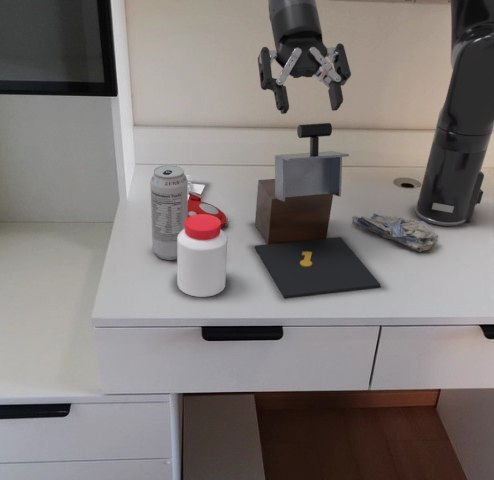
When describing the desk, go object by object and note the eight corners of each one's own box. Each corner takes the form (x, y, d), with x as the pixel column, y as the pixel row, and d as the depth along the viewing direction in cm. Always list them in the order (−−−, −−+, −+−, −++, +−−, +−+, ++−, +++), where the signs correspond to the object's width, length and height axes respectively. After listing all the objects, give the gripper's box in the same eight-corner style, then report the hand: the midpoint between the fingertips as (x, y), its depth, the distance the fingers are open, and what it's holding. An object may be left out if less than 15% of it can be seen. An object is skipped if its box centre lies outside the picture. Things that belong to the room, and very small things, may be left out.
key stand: (254, 225, 115) (258, 179, 110) (310, 219, 117) (316, 175, 111) (267, 245, 108) (271, 198, 103) (326, 239, 110) (333, 193, 105)
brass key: (298, 264, 102) (298, 266, 102) (311, 266, 101) (311, 268, 101) (302, 250, 105) (302, 252, 106) (315, 252, 105) (314, 254, 105)
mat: (254, 247, 108) (254, 245, 108) (340, 239, 110) (340, 236, 110) (284, 298, 95) (284, 295, 95) (380, 287, 98) (380, 284, 97)
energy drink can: (192, 247, 108) (193, 166, 99) (179, 264, 103) (179, 180, 95) (161, 241, 110) (159, 161, 101) (147, 257, 105) (143, 175, 96)
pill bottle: (235, 283, 98) (239, 222, 92) (201, 303, 94) (203, 239, 88) (201, 265, 103) (202, 206, 96) (167, 283, 98) (166, 221, 92)
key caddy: (274, 124, 99) (288, 126, 93) (332, 120, 101) (350, 122, 95) (275, 198, 103) (288, 203, 97) (331, 193, 105) (347, 198, 99)
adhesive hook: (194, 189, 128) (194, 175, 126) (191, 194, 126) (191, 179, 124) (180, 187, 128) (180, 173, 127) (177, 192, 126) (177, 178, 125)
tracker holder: (239, 217, 115) (202, 222, 108) (230, 237, 117) (194, 243, 110) (197, 183, 121) (160, 186, 114) (190, 203, 123) (153, 206, 116)
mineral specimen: (443, 247, 108) (449, 225, 106) (411, 260, 105) (416, 238, 102) (379, 215, 118) (383, 195, 116) (348, 226, 115) (352, 206, 112)
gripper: (257, 2, 94) (274, 100, 92) (344, -1, 96) (363, 94, 94) (245, 32, 101) (261, 124, 99) (327, 29, 104) (344, 118, 101)
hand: (311, 109), depth 96 cm, fingers open, 8 cm apart
